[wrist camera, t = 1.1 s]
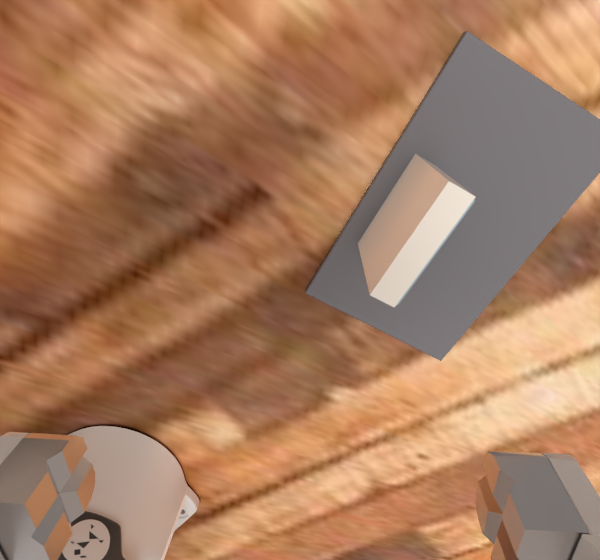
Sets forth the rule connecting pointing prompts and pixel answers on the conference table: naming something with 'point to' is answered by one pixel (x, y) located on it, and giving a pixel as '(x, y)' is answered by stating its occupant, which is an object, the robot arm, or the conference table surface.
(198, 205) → the conference table surface
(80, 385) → the conference table surface
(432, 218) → the tile
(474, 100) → the mat
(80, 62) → the conference table surface
